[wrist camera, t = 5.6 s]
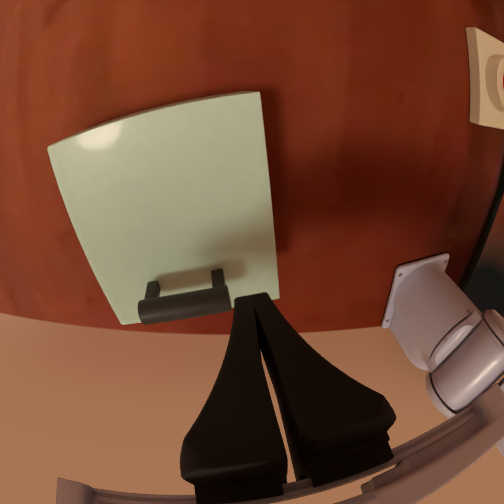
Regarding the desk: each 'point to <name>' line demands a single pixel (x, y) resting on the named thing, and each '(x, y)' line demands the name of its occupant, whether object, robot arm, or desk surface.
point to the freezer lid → (174, 207)
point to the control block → (486, 78)
